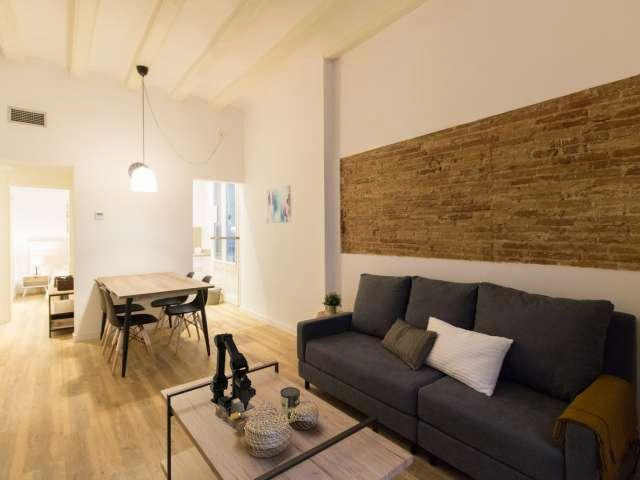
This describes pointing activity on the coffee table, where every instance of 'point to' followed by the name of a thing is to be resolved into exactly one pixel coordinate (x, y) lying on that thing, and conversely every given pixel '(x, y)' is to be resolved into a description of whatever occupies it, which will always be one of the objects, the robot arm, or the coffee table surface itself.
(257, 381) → the coffee table surface
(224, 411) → the cap block
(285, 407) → the coffee can
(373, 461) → the coffee table surface
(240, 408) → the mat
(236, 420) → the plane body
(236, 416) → the lever
